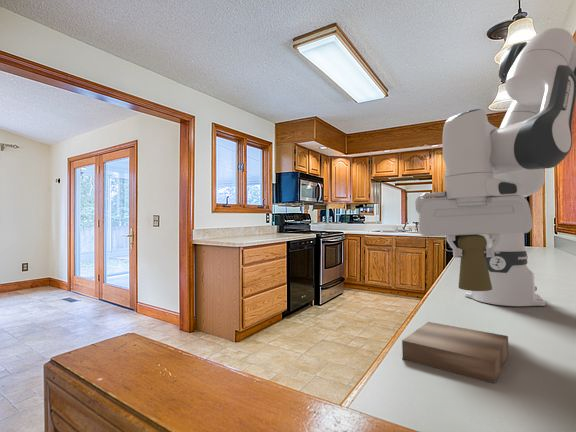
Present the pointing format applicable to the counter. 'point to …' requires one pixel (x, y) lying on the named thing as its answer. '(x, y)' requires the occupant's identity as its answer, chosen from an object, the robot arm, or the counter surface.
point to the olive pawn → (473, 264)
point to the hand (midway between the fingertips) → (473, 257)
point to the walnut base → (457, 350)
